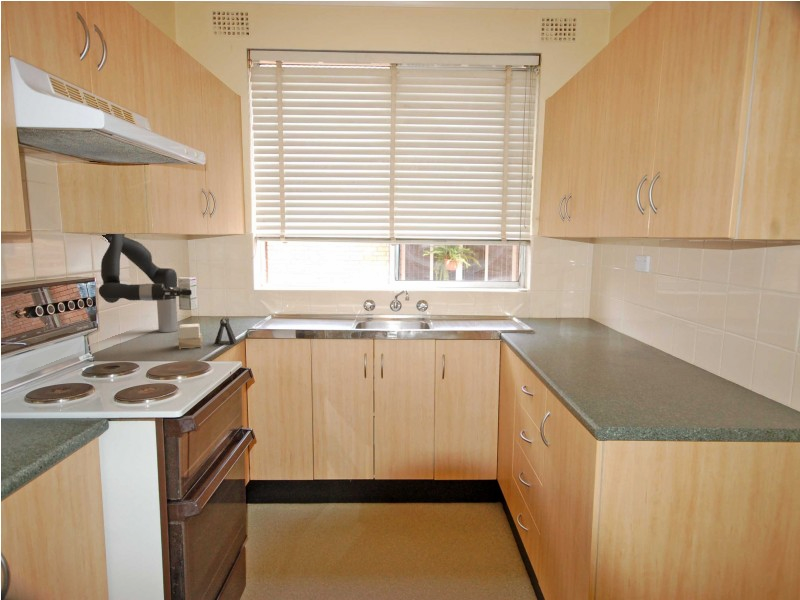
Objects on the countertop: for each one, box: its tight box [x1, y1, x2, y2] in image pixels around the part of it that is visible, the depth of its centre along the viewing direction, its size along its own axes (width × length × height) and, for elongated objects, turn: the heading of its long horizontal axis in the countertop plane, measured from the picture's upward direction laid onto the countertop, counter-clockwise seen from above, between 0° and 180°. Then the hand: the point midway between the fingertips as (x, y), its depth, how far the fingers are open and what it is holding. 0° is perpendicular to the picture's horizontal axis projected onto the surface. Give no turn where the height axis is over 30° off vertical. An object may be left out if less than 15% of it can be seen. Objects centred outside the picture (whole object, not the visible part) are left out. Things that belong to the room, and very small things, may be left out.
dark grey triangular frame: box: [214, 316, 237, 345], centre depth 227 cm, size 9×6×12 cm, turn 99°
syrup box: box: [177, 276, 198, 311], centre depth 217 cm, size 6×6×14 cm
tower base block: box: [178, 333, 203, 350], centre depth 220 cm, size 9×9×5 cm
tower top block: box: [178, 323, 201, 339], centre depth 219 cm, size 8×8×5 cm
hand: (192, 291), depth 218 cm, fingers closed on syrup box, 7 cm apart
